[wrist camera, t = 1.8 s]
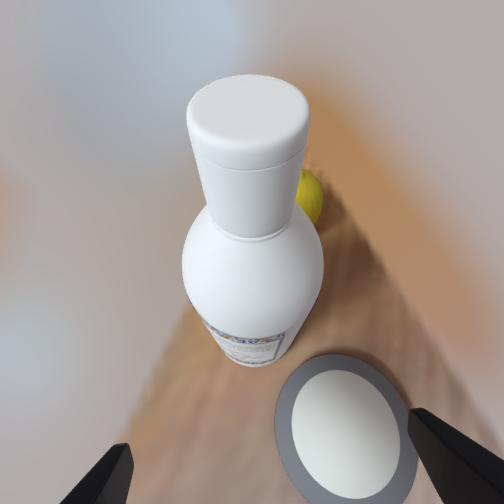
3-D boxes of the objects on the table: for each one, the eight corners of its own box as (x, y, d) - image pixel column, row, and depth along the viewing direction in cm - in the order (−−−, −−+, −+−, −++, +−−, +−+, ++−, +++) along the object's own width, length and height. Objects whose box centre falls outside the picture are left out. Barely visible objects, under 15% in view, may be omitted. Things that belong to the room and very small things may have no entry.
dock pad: (428, 527, 17) (436, 533, 16) (272, 510, 17) (273, 515, 16) (396, 360, 22) (401, 358, 21) (276, 351, 22) (277, 349, 21)
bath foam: (257, 276, 26) (258, 16, 8) (309, 328, 23) (470, 107, 6) (200, 323, 23) (41, 99, 6) (251, 387, 21) (224, 316, 3)
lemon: (308, 206, 30) (324, 148, 23) (318, 247, 27) (339, 195, 20) (261, 210, 30) (262, 152, 23) (266, 251, 27) (269, 199, 20)
